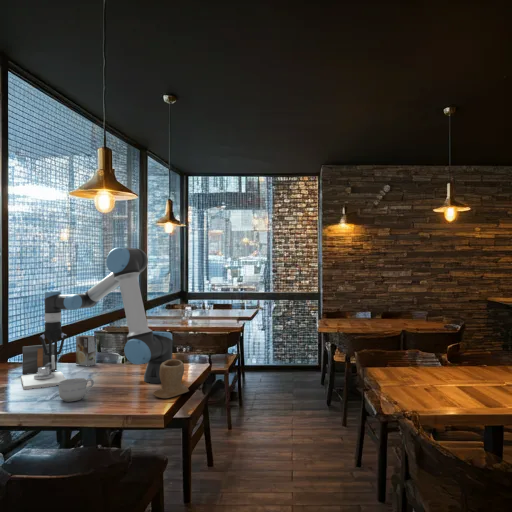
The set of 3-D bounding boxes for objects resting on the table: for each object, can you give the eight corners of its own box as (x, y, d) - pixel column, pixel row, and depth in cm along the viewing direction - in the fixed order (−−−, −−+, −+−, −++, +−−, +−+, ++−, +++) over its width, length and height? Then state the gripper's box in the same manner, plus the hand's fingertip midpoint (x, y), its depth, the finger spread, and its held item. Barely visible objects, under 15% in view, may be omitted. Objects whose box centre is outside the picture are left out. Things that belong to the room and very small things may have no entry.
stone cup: (167, 402, 181) (167, 364, 182) (149, 397, 189) (149, 361, 189) (196, 394, 193) (196, 358, 193) (177, 389, 200) (177, 355, 201)
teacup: (59, 405, 178) (59, 384, 178) (57, 398, 188) (57, 378, 188) (96, 400, 185) (96, 380, 185) (92, 394, 194) (92, 375, 194)
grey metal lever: (51, 378, 214) (51, 368, 214) (31, 379, 212) (31, 369, 213) (61, 370, 233) (61, 360, 233) (42, 370, 231) (43, 361, 231)
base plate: (67, 384, 210) (67, 380, 211) (23, 389, 202) (23, 385, 202) (60, 373, 232) (60, 370, 232) (21, 378, 223) (21, 374, 223)
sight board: (56, 371, 238) (57, 344, 239) (22, 374, 230) (22, 347, 231) (56, 370, 240) (56, 343, 240) (22, 374, 232) (22, 346, 232)
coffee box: (96, 364, 256) (96, 335, 256) (88, 366, 250) (88, 337, 250) (83, 363, 259) (83, 334, 260) (75, 365, 253) (75, 336, 254)
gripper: (37, 322, 222) (38, 371, 221) (66, 321, 226) (66, 369, 225) (39, 321, 229) (40, 368, 228) (67, 319, 233) (67, 366, 232)
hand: (53, 368), depth 227 cm, fingers closed
